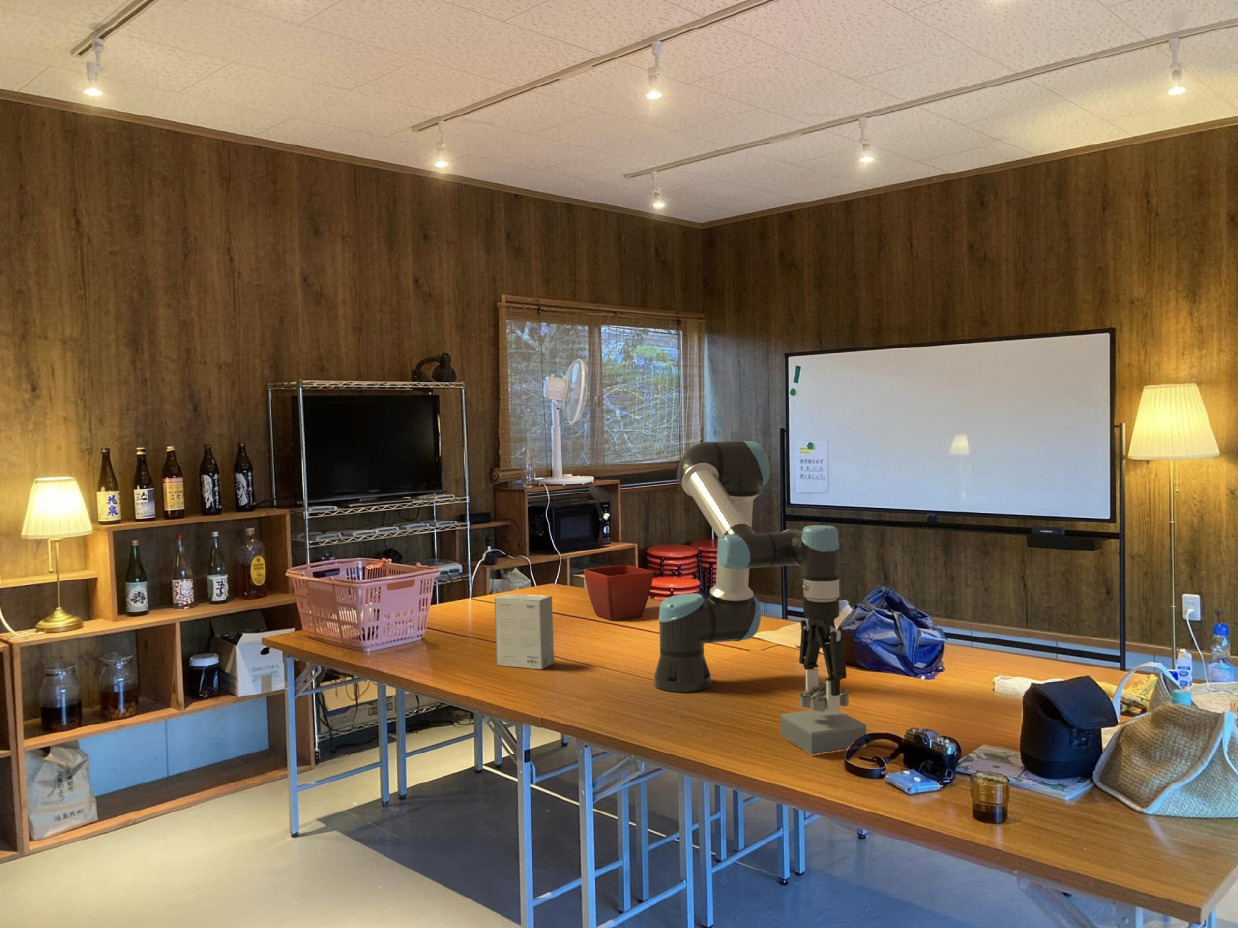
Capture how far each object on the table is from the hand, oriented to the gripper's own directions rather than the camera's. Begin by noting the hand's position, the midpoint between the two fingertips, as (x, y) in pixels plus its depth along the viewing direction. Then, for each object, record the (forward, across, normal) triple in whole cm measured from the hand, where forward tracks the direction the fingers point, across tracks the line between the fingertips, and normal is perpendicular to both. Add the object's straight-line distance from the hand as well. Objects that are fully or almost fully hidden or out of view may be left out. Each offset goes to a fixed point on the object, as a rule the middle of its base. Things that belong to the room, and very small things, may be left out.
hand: (822, 704), depth 200 cm
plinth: (+8, 0, 0) cm, 8 cm away
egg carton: (+1, 0, 0) cm, 1 cm away
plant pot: (+8, -144, +2) cm, 144 cm away
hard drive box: (+8, -90, -44) cm, 101 cm away
